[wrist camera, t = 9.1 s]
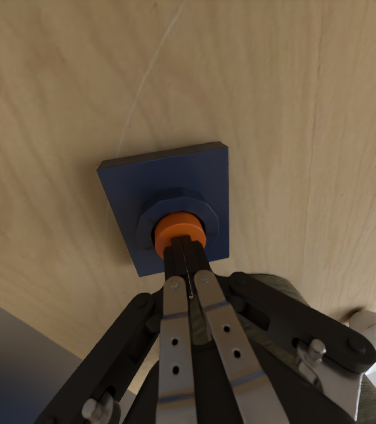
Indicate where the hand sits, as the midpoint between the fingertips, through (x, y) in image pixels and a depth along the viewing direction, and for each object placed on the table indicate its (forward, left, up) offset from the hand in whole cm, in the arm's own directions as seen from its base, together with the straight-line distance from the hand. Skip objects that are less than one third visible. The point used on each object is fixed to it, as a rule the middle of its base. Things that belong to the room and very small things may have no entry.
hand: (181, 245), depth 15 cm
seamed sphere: (+33, +32, -6) cm, 46 cm away
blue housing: (0, 0, -5) cm, 5 cm away
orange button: (0, 0, -2) cm, 2 cm away
